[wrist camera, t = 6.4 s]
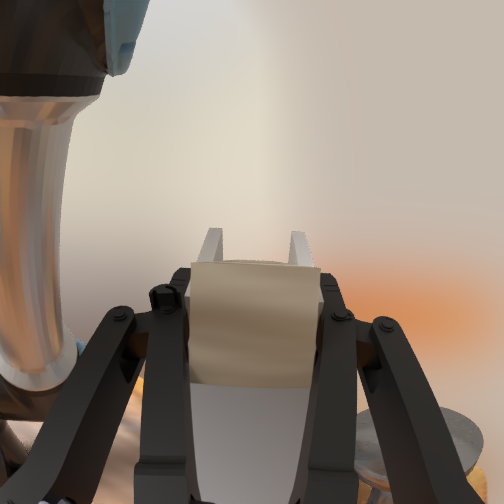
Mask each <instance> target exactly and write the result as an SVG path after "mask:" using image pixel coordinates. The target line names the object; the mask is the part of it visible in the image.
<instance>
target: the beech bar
mask: <svg viewBox="0 0 504 504" xmlns="http://www.w3.org/2000/svg"><path fill="white" fill-rule="evenodd" d="M320 270H321V269H320V268H315V267H308V266H301V265H294V264H287V263H281V262H273V261H255V260H227V261H211V262H195V263H191V282H190V383H196V384H206V385H217V386H231V387H250V388H311V383H312V374H313V364H314V354H315V343H316V332H317V319H318V305H319V290H320Z"/></svg>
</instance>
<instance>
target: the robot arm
mask: <svg viewBox="0 0 504 504" xmlns="http://www.w3.org/2000/svg"><path fill="white" fill-rule="evenodd" d="M149 1H150V0H0V504H91V503H92V501H93V498H94V496H95V493H96V490H97V487H98V484H99V481H100V478H101V475H102V472H103V469H104V466H105V463H106V461H107V458H108V455H109V452H110V449H111V446H112V444H113V441H114V438H115V435H116V433H117V430H118V427H119V425H120V422H121V419H122V417H123V414H124V412H125V409H126V406H127V404H128V401H129V399H130V396H131V394H132V391H133V389H134V386H135V384H136V381H137V379H138V376H139V374H140V371H141V369H142V366H143V364H144V361H145V359H146V363H145V373H144V385H143V398H142V413H141V434H140V459H139V462H137V463H136V465H135V468H134V504H215V503H212V502H205V501H201V495H200V491H199V486H198V479H197V470H196V460H195V449H194V437H193V424H192V409H191V392H190V369H189V348H188V341H189V337H190V282H191V268H179V269H178V270H177V271H176V272H175V273H174V274H173V277H172V279H171V281H170V283H169V284H161V285H158V286H156V287H154V288H153V289H151V290H150V292H149V297H150V302H151V307H152V311H149V312H145V313H137V314H134V311H133V309H131V308H130V307H128V306H117V307H114V308H112V309H111V310H109V311H108V312H107V314H106V315H105V317H104V318H103V320H102V321H101V323H100V324H99V326H98V328H97V329H96V331H95V333H94V334H93V336H92V337H91V339H90V341H89V342H88V344H87V345H85V344H84V343H83V342H82V341H79V340H76V339H75V338H74V336H73V334H72V333H71V331H70V330H69V329H68V327H67V326H66V325H65V324H64V323H63V322H62V313H61V298H60V276H59V242H60V241H59V240H60V218H61V204H62V192H63V183H64V174H65V167H66V160H67V153H68V148H69V141H70V136H71V131H72V126H73V121H74V119H75V117H76V115H77V114H78V113H79V112H80V111H82V110H83V109H84V108H86V107H87V106H88V105H90V104H91V103H92V102H94V101H95V100H97V99H98V98H99V96H100V92H101V89H102V85H103V82H104V78H105V76H106V75H107V74H109V75H110V76H112V77H114V76H116V75H122V74H124V73H125V72H126V71H127V69H128V67H129V65H130V62H131V59H132V56H133V52H134V48H135V44H136V39H137V37H138V35H139V33H140V30H141V27H142V24H143V20H144V17H145V14H146V11H147V8H148V4H149ZM211 261H223V245H222V228H209V230H208V233H207V236H206V238H205V241H204V244H203V246H202V249H201V252H200V254H199V257H198V260H197V262H211ZM288 264H294V265H301V266H308V267H314V263H313V260H312V256H311V253H310V249H309V246H308V242H307V239H306V235H305V232H296V231H292V233H291V243H290V253H289V262H288ZM357 370H358V373H359V376H360V379H361V382H362V386H363V389H364V392H365V396H366V399H367V402H368V406H369V409H370V413H371V416H372V420H373V423H374V427H375V430H376V434H377V438H378V441H379V445H380V449H381V453H382V457H383V461H384V465H385V469H386V473H387V477H388V481H389V486H390V490H391V494H392V499H393V503H394V504H485V503H484V502H483V501H482V499H481V498H480V497H479V496H478V494H477V493H476V492H475V490H474V489H473V488H472V487H471V485H470V484H469V483H468V482H467V479H466V476H465V473H464V470H463V467H462V464H461V461H460V458H459V455H458V453H457V450H456V447H455V445H454V442H453V439H452V437H451V434H450V432H449V429H448V427H447V424H446V422H445V419H444V417H443V415H442V412H441V410H440V408H439V405H438V403H437V401H436V398H435V396H434V394H433V392H432V389H431V387H430V385H429V383H428V381H427V379H426V377H425V375H424V372H423V370H422V368H421V366H420V364H419V362H418V360H417V358H416V356H415V354H414V352H413V350H412V348H411V346H410V344H409V342H408V340H407V338H406V336H405V334H404V332H403V330H402V329H401V327H400V325H399V324H398V322H397V321H395V320H394V319H392V318H389V317H386V316H380V317H377V318H375V319H374V320H373V323H368V322H363V321H360V320H357V319H355V317H354V314H353V313H352V312H351V311H350V310H348V309H346V307H345V304H344V301H343V298H342V295H341V292H340V289H339V287H338V283H337V281H336V279H335V278H334V277H333V276H332V275H331V274H330V273H328V274H327V273H320V290H319V305H318V319H317V332H316V351H315V355H314V364H313V374H312V383H311V388H310V394H309V401H308V408H307V415H306V421H305V427H304V433H303V439H302V445H301V450H300V456H299V461H298V466H297V472H296V477H295V481H294V486H293V490H292V493H291V496H290V499H289V502H288V504H357V497H358V486H359V477H358V473H357V472H356V471H355V469H354V461H355V445H356V422H357ZM6 420H13V421H29V422H44V423H43V425H42V427H41V429H40V431H39V433H38V435H37V437H36V439H35V441H34V444H33V446H32V448H31V450H30V452H29V454H27V452H26V449H25V448H24V446H23V445H22V443H21V442H20V441H19V439H18V438H17V436H16V435H15V434H14V432H13V431H12V429H11V428H10V426H9V425H8V423H7V421H6Z"/></svg>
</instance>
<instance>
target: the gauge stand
mask: <svg viewBox="0 0 504 504" xmlns="http://www.w3.org/2000/svg"><path fill="white" fill-rule="evenodd" d="M188 348H189V369H190V337H189V341H188ZM315 351H316V343H315ZM314 355H315V354H314ZM190 392H191V409H192V424H193V437H194V449H195V460H196V470H197V479H198V486H199V491H200V495H201V501H205V502H212V503H215V504H288V502H289V499H290V496H291V493H292V490H293V486H294V481H295V477H296V472H297V466H298V461H299V456H300V450H301V445H302V439H303V433H304V427H305V421H306V415H307V408H308V401H309V394H310V388H250V387H231V386H217V385H206V384H196V383H190Z"/></svg>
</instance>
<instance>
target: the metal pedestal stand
mask: <svg viewBox="0 0 504 504" xmlns="http://www.w3.org/2000/svg"><path fill="white" fill-rule="evenodd" d="M439 408H440V410H441V412H442V415H443V417H444V419H445V422H446V424H447V427H448V429H449V432H450V434H451V437H452V439H453V442H454V445H455V447H456V450H457V453H458V455H459V458H460V461H461V464H462V467H463V470H464V473H465V476H466V477H467V476H468V475H469V473H470V472H471V471H472V470H473V468H474V466H475V465H476V463H477V460H478V458H479V456H480V454H481V452H482V448H483V436H482V433H481V431H480V429H479V428H478V427H477V425H476V424H475V423H474V422H472V421H471V420H470V419H468V418H467V417H465V416H464V415H462V414H460V413H458V412H455V411H453V410H450V409H447V408H443V407H439ZM354 469H355V471H356V472H357V473H358V477H359V479H360V480H361V481H363V482H365V483H366V484H368V485H370V486H372V487H373V488H372V490H371V493H370V495H369V498H368V500H367V503H366V504H394V503H393V499H392V494H391V490H390V486H389V481H388V477H387V473H386V469H385V465H384V461H383V457H382V453H381V449H380V445H379V441H378V438H377V434H376V430H375V427H374V423H373V420H372V416H371V413H370V409H367V410H365V411H362V412H360V413H358V414H357V422H356V445H355V461H354Z"/></svg>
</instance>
